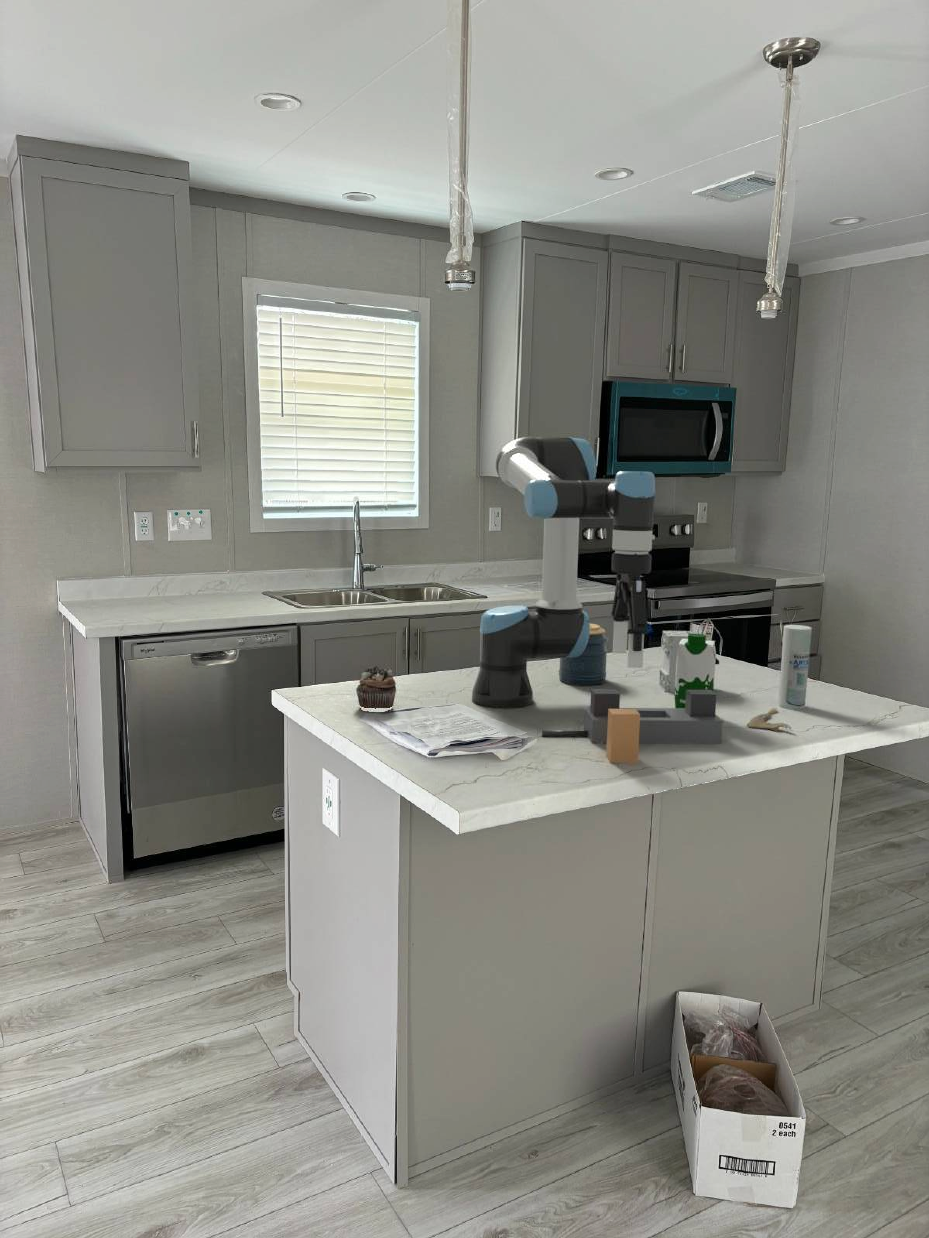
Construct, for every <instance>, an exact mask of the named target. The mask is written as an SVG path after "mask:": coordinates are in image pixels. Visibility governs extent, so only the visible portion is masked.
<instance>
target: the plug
mask: <svg viewBox="0 0 929 1238" xmlns="http://www.w3.org/2000/svg"><path fill="white" fill-rule="evenodd" d="M639 728H640V714H639V712H638V711H637V710H636V709H608V728H607V743H606V756H605V757H606V758H607V760H608V762H609V763H610V764H639V762H638V761H639V747H640V745H639V744H640V743H639Z"/></svg>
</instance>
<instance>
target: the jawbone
mask: <svg viewBox="0 0 929 1238" xmlns="http://www.w3.org/2000/svg"><path fill="white" fill-rule="evenodd" d="M776 712H777V708H774V707H772V708H771V709H770V710H768V711H767V713H762V714H757V715H756V716H754V717H752V718H751V719H750V720H749V722H748V723H747V724H746V727H747V728H750V729H766V730H771V731H773V732H775V733H778V732H779V728H780V727H781V728H784V729H785V730H786V729H789V730H791V729H792V727H791V726H790V725H789V724H787V723H783V722H776V723H775V722H774V723H771V722H767V720H768V719H769V718H771V717H772V715H773V716H774V714H775V713H776Z"/></svg>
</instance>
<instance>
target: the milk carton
mask: <svg viewBox="0 0 929 1238" xmlns="http://www.w3.org/2000/svg"><path fill="white" fill-rule="evenodd" d="M715 642H716V640H707V636H706V635H705V634H703V633H695V634H688V639H682V640H681V641H680V643H679V646H678V651H677V662H676V678H675V692H674V706H675V707H674V708H685V699H686V690H712V691H713V692H714V690H715V689H714V688H715V674H716V672H715V671H716V664H715V659H716V658H717V651H716V645H715ZM714 693H715V692H714Z"/></svg>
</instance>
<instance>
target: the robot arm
mask: <svg viewBox="0 0 929 1238" xmlns="http://www.w3.org/2000/svg"><path fill="white" fill-rule="evenodd" d="M495 471H496V473H497V476H498V478H499V479H500V481H502V482H503V483H504V484H505V485H507V486H508V487H511V488H514V489H517V490H518V492H520V493H521V494H522V495H523V497H524V500H523V501H524V508H525V510H526V511H525V512H526V514H527V516H529V517H530V518H536V519H537V518H538V519H543V543H542V544H543V547H542V550H543V551H542V552H543V553H542V575H541V576H542V579H541V597H540V599H539V600H538V601H536V603H535V604H534V605H535V608H534V609H535V610H534V611H530V610H529V608H528V607H527V606H525V605H507V606H505V605H503V606H499V607H494V608H491V609H488V610H486V611H484V612H483V613H482V615H481V619H480V627H479V633H480V635H479V636H480V640H479V643H480V644H479V645H480V647H479V669H478V670H479V671H478V674H477V676H476V680H475V683H474V685H473V688H472V694H471V699H472V702H474V703H476V704H478V705H481V706H485V707H490V708H491V707H492V708H503V709H504V708H507V709H509V708H518V707H520V708H521V707H526V706H528V705H530V704H532V703H533V701H534V700H533V699H534V698H533V696H534V695H533V694H534V692H533V688H532V685H531V682H530V679H529V675H528V672H527V671H528V670H527V669H528V668H527V666H528V665H527V664H528V660H536V659H560V658H561V659H565V658H571V657H578V656H580V655H581V654H582V653H583V651H584V650H585V648H586V646H587V643H588V639H589V633H590V624H591V623H590V616H589V614H588V613H587V612H586V611H584V610H583V604H582V603H581V602H580V601H579V600H578V599H577V593H578V591H577V589H578V587H577V585H578V562H579V539H580V537H579V535H580V533H579V532H580V519H613V524H612V525H613V526H612V539H611V540H612V545H611V548H612V550H613V551H614V552H613V553H612V554H611V571H612V572H613V573H616V580H615V581H616V584H615V589H614V597H613V602H612V607H611V613H610V614H611V616H612V619H613V635H612V636H613V637H612V654H627V668H629V669H630V668H632V669H633V668H637V669H639V668H641V669H642V668H643V666H644V665H643V664H644V663H643V662H644V644H645V643H644V642H645V634H646V633H647V632H648V631H649V628H648V614H647V613H648V612H647V601H646V599H647V598H646V597H647V596H646V585H647V583H646V580H641V575H644V574H649V573H651V571H652V555H651V553H649V552H651V551H652V548H653V542H652V541H654V540H656V539H655V538H656V536H655V535H654V534H653V529H654V512H655V511H654V509H655V497H656V496H655V495H656V491H657V490H656V478H655V474H654V473H653V472H651V471H635V470H634V471H631V470H630V471H629V470H628V471H623V470H620V471H618V472H617V473H616V474H615V479H614V480H596V477H597V475H596V474H597V464H596V456H595V453H594V450H593V448H592V445H591V443H589V441H588V440H587V439H584V438H578V437H577V438H576V437H571V436H567V437H558V436H557V437H555V436H553V437H552V436H551V437H549V436H547V437H545V436H541V437H540V436H538V437H537V436H524V437H520V438H516V439H514V440H512V441H509V442H508V443H507V444H505V446H503V447H502V449H501V450H500V451H499V452H498V454H497V457H496V459H495ZM628 623H629V624H628ZM628 627H629V628H628ZM627 643H628V645H627ZM627 648H628V649H627Z"/></svg>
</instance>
